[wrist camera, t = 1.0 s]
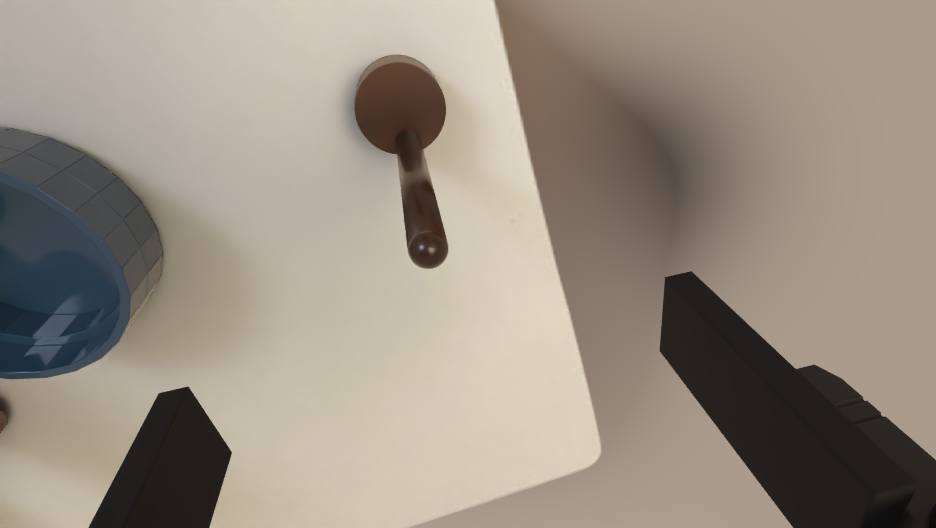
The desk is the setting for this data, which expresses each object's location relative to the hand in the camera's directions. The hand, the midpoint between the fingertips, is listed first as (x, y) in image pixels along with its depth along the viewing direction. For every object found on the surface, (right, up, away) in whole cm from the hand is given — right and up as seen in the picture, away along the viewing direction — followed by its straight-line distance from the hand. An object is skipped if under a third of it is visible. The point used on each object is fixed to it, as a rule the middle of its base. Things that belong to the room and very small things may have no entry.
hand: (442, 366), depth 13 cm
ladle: (-4, +14, +19) cm, 24 cm away
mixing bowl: (-29, +5, +20) cm, 35 cm away
